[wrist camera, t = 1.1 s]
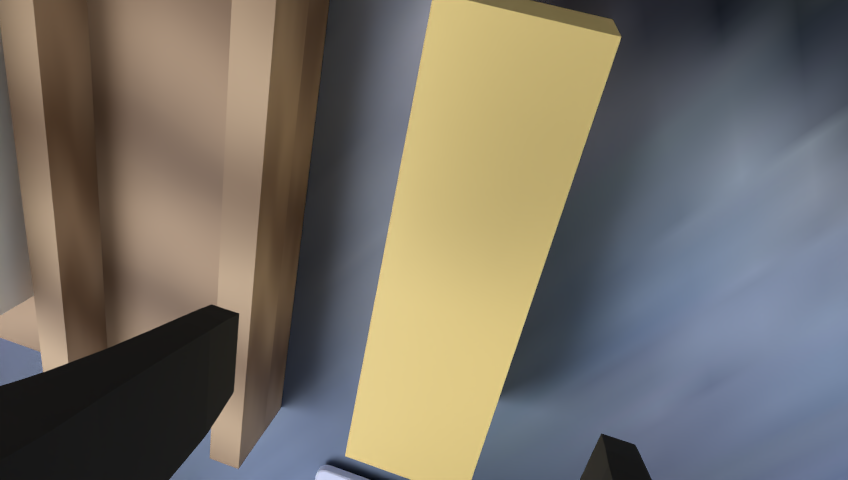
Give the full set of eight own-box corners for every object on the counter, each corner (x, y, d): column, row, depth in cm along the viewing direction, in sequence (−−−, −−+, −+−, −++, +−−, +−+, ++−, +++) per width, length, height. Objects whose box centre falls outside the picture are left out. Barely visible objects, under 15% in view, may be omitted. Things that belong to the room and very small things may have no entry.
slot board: (280, 408, 25) (238, 468, 22) (-27, 300, 27) (-105, 341, 24) (355, -214, 15) (297, -261, 12) (-138, -312, 17) (-294, -373, 14)
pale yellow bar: (488, 395, 23) (464, 499, 18) (391, 363, 23) (344, 456, 19) (612, 18, 16) (621, 36, 12) (473, -14, 17) (433, -8, 12)
